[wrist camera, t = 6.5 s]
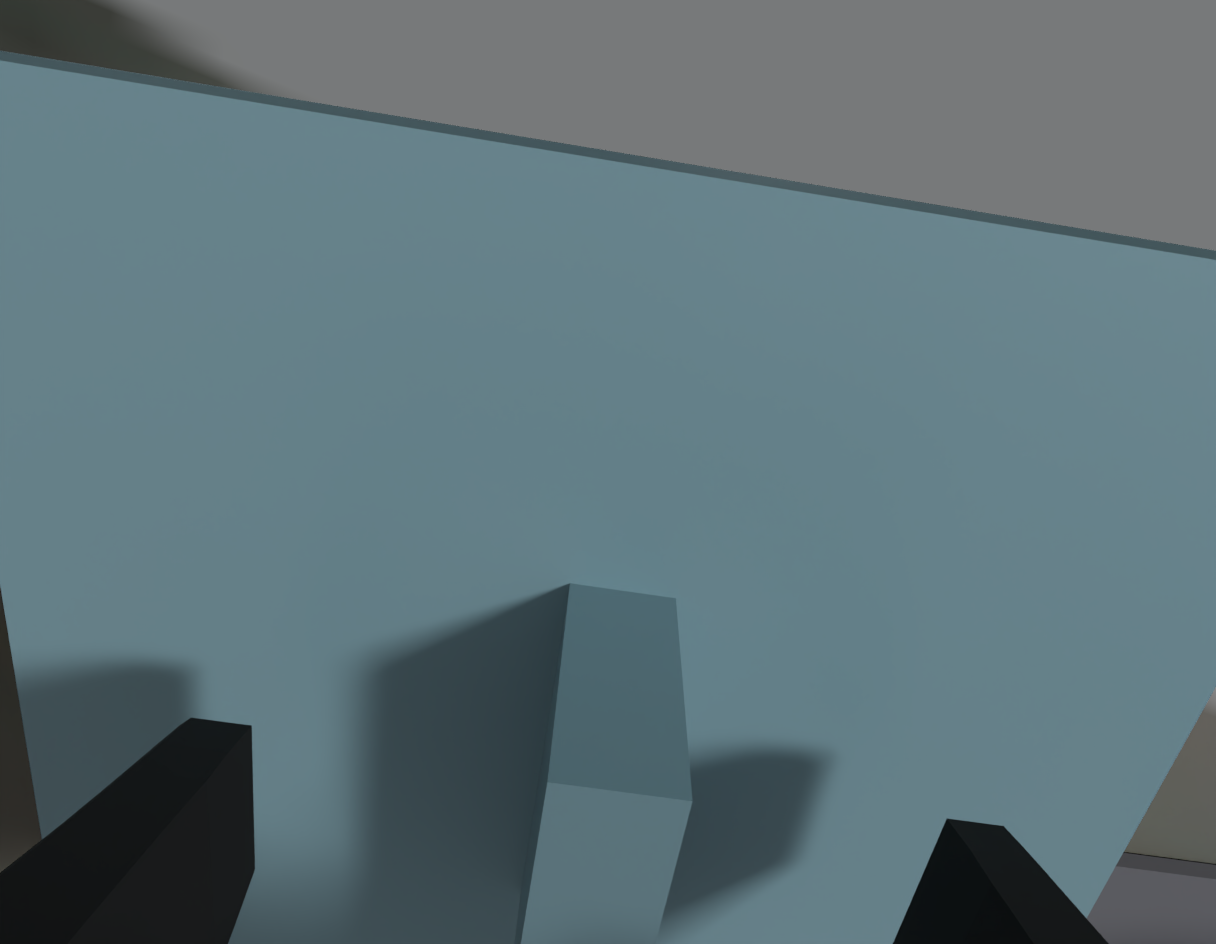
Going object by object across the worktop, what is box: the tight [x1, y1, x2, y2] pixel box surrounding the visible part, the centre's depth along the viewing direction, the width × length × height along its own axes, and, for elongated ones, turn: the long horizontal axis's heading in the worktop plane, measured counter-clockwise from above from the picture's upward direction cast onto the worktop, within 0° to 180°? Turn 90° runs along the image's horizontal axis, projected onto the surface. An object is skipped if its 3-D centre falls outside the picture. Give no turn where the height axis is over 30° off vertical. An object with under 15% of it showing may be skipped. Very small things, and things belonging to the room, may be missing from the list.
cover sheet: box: [0, 51, 1216, 944], centre depth 10 cm, size 14×14×4 cm
